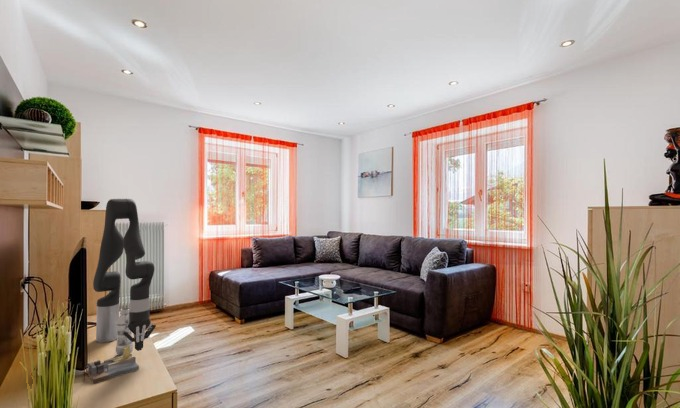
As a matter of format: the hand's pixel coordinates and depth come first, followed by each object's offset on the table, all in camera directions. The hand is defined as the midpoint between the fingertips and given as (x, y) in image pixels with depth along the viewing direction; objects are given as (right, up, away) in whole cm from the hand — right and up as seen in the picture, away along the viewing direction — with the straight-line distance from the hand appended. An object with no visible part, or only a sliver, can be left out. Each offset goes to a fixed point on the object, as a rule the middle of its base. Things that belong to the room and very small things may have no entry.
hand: (138, 349), depth 142 cm
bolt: (-4, -3, -5) cm, 7 cm away
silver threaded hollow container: (-11, -6, +8) cm, 14 cm away
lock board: (-6, -5, -7) cm, 11 cm away
